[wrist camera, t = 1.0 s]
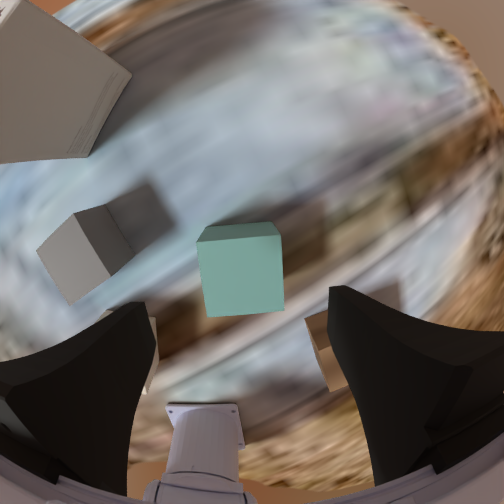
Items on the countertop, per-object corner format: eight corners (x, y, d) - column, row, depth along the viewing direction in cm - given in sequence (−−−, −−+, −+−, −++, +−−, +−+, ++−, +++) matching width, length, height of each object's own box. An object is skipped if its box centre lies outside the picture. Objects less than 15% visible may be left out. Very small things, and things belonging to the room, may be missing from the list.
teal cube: (274, 282, 22) (284, 310, 17) (213, 287, 22) (207, 317, 17) (271, 221, 21) (280, 234, 16) (205, 226, 21) (195, 242, 16)
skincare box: (90, 58, 16) (-17, -7, 2) (138, 76, 17) (27, -15, 3) (46, 140, 18) (-84, 138, 3) (87, 165, 19) (-62, 177, 4)
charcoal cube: (135, 255, 21) (111, 276, 16) (97, 281, 22) (69, 306, 17) (105, 204, 20) (73, 213, 15) (68, 235, 20) (35, 250, 15)
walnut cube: (362, 339, 24) (383, 369, 20) (316, 358, 25) (329, 392, 20) (355, 298, 23) (379, 325, 18) (304, 318, 23) (318, 350, 18)
